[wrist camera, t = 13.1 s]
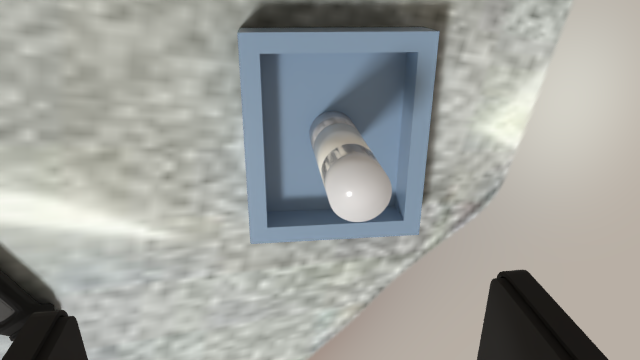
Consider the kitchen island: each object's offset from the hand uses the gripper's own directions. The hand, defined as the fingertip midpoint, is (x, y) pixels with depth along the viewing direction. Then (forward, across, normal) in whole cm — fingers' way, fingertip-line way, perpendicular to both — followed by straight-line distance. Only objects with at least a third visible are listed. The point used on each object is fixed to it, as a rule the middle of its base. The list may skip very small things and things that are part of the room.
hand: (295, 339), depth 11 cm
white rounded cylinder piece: (+22, -4, +3) cm, 23 cm away
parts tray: (+23, -4, +3) cm, 23 cm away
